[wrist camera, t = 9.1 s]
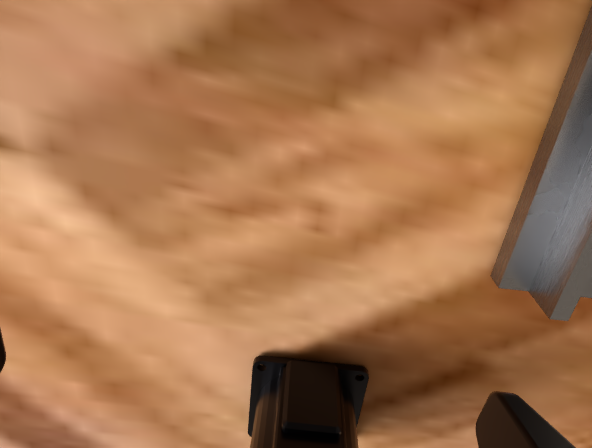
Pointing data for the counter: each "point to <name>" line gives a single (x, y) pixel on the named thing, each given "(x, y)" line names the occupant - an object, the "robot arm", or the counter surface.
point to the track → (557, 202)
